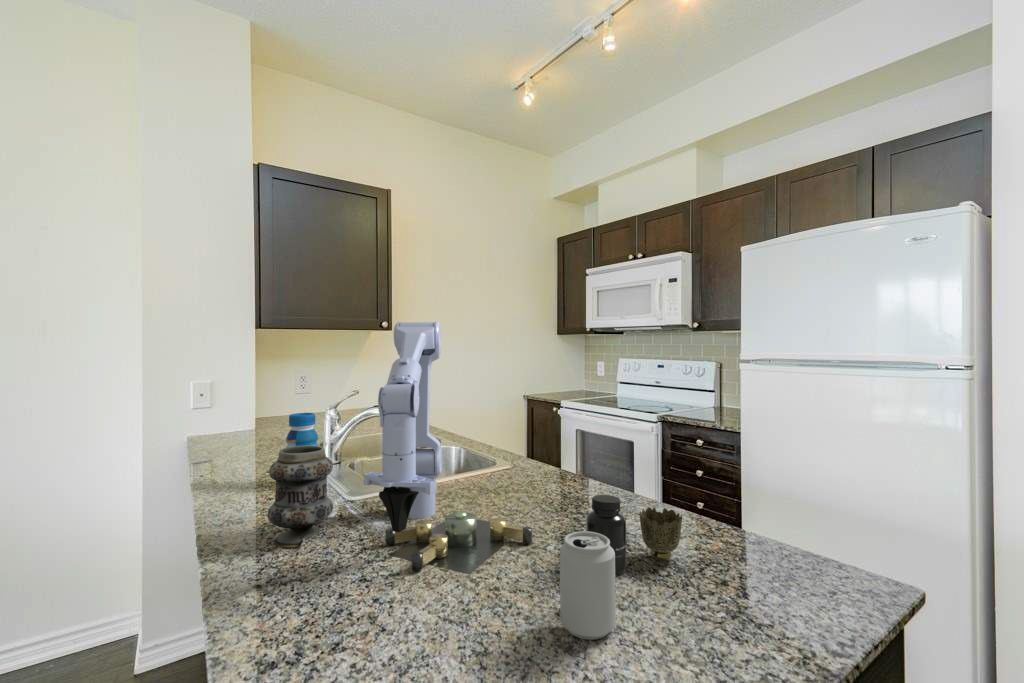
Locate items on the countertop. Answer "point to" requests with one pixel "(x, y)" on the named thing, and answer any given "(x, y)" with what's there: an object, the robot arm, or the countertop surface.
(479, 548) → the plate
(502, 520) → the lever right
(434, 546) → the lever front
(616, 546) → the supplement bottle
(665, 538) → the cup
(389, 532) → the lever left
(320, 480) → the apothecary jar
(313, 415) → the beverage bottle
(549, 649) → the countertop surface
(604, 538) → the can
